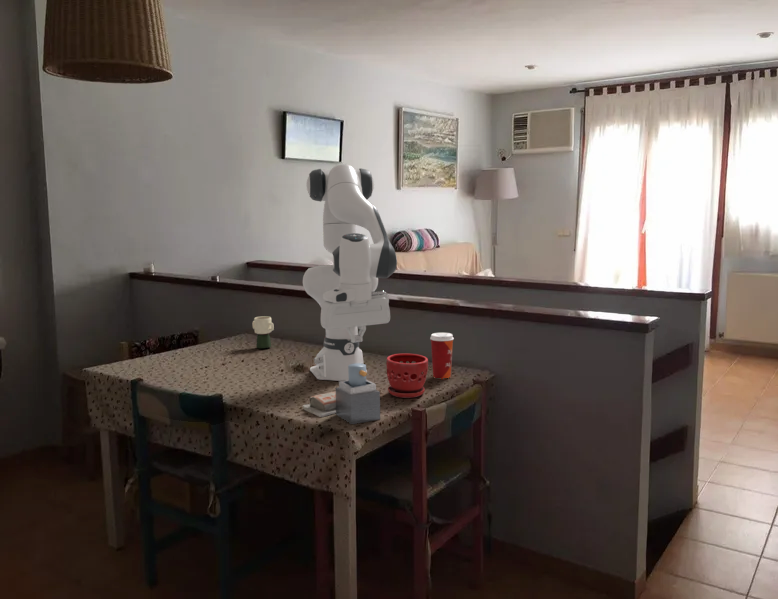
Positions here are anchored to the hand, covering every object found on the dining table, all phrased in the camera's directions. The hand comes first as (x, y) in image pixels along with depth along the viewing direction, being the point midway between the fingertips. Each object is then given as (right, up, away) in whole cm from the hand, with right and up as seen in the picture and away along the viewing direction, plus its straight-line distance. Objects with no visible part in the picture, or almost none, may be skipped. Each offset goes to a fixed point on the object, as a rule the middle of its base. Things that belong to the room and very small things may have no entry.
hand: (356, 341), depth 188 cm
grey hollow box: (0, -22, +3) cm, 22 cm away
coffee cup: (+27, -15, +45) cm, 55 cm away
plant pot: (+15, -18, +25) cm, 34 cm away
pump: (0, -14, +2) cm, 14 cm away
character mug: (-43, -9, +94) cm, 104 cm away
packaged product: (-7, -21, +13) cm, 25 cm away
